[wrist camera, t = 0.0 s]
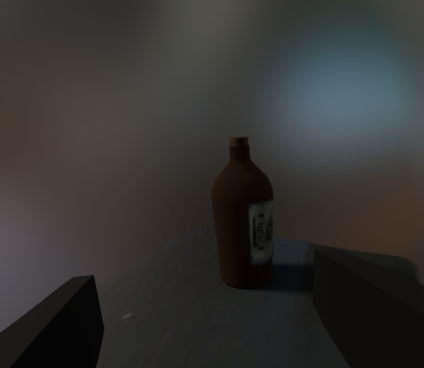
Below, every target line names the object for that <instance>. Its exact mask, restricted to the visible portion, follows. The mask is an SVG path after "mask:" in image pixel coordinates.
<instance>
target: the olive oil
mask: <svg viewBox="0 0 424 368" xmlns="http://www.w3.org/2000/svg"><path fill="white" fill-rule="evenodd" d="M229 140H230V146H229V150H230V161H229V163H228V164H227V165H226V167H225V168H224V169H223V170H222V172H221V173H220V174H219V175H218V177H217V178H216V179H215V181H214V183H213V187H212V193H211V199H212V207H213V215H214V222H215V230H216V238H217V247H218V256H219V266H220V275H221V279H222V280H223V282H225V283H226V284H228V285H230V286H232V287H236V288H243V289H249V288H256V287H260V286H263V285H265V284H267V283H268V282H269V281H270V280H271V278H272V256H273V252H274V244H273V243H272V240H273V189H272V186H271V183H270V181H269V179H268V177H267V176H266V175H265V174H264V173H263V172H262V171H261V170H260V169H259V168H258V167H257V166H256V165H255V164H254V163H253V162H252V161H251V159H250V155H249V154H250V152H249V151H250V149H249V145H248V137H232V138H230V139H229Z"/></svg>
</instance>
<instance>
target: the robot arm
mask: <svg viewBox="0 0 424 368" xmlns="http://www.w3.org/2000/svg"><path fill="white" fill-rule="evenodd" d="M313 304H314V306H315V308H316V310H317V312H318V315H319V317H320V319H321V321H322V323H323V325H324V327H325V328H326V330H327V332H328V333H329V335H330V337H331V338H332V340H333V341H334V343H335V344H336V346H337V347H338V349H339V350H340V352H341V354H342V355H343V357H344V358H345V360H346V361H347V363H348V364H349V366H350V367H351V368H424V285H421V284H419V283H416V282H413V281H411V280H408V279H406V278H404V277H401V276H399V275H396V274H394V273H392V272H389V271H387V270H385V269H382V268H380V267H378V266H376V265H373V264H371V263H369V262H366V261H364V260H362V259H360V258H357V257H355V256H353V255H350V254H348V253H345V252H343V251H340V250H338V249H334V248H325V249H316V250H314V275H313ZM103 333H104V325H103V320H102V315H101V310H100V305H99V299H98V294H97V289H96V284H95V279H94V275H88V276H79V277H73V278H72V279H70V280H69V281H67V282H66V283H65V284H63V285H62V286H60V287H59V288H58V289H57V290H55V291H54V292H53V293H52V294H50V295H49V296H48V297H46V298H45V299H44V300H43V301H42V302H40V303H39V304H37V305H36V306H35V307H34V308H32V309H31V310H30V311H28V312H27V313H26V314H25V315H23V316H22V317H21V318H20V319H18V320H17V321H16V322H14V323H13V324H12V325H10V326H9V327H7V328H6V329H5V330H3V331H2V332H0V368H96V365H97V362H98V358H99V353H100V349H101V344H102V338H103Z"/></svg>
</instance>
